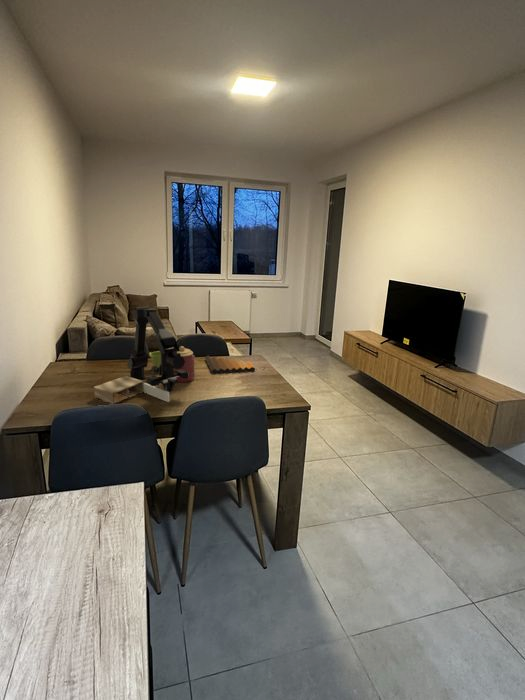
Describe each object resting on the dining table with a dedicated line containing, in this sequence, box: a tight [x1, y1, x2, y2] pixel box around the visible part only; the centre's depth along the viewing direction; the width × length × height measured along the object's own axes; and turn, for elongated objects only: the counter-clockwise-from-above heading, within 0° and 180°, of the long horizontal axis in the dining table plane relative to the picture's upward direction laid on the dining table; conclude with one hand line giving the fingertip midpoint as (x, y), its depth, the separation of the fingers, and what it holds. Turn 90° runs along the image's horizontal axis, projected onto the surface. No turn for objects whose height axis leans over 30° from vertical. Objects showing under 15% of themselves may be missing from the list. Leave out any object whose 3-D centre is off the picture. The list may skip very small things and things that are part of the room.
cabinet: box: [93, 375, 144, 403], centre depth 186 cm, size 18×12×6 cm, turn 149°
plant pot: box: [149, 351, 161, 367], centre depth 223 cm, size 9×9×9 cm
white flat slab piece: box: [143, 381, 171, 403], centre depth 185 cm, size 18×1×5 cm, turn 54°
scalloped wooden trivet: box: [204, 355, 256, 375], centre depth 234 cm, size 25×3×25 cm
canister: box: [174, 345, 196, 383], centre depth 208 cm, size 13×13×18 cm
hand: (168, 394), depth 185 cm, fingers closed
